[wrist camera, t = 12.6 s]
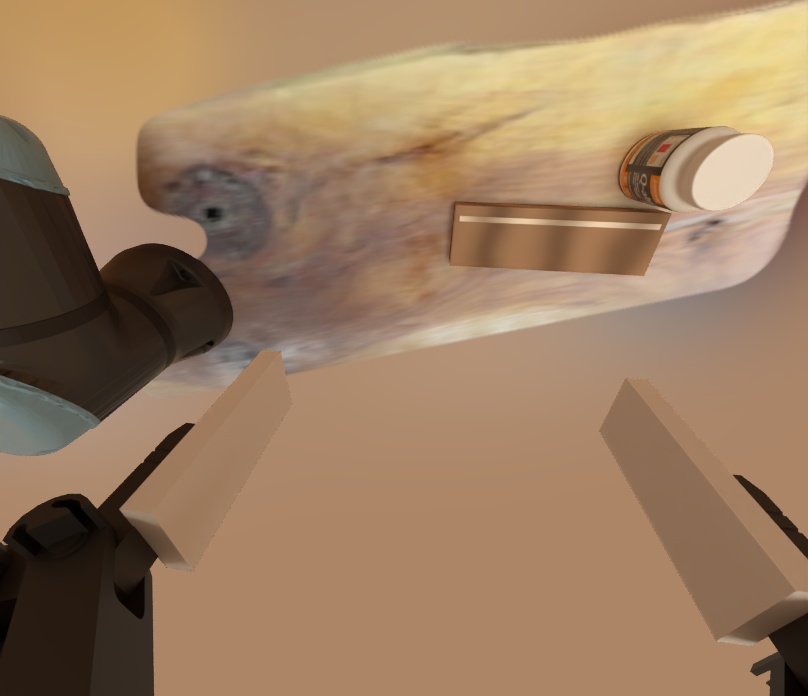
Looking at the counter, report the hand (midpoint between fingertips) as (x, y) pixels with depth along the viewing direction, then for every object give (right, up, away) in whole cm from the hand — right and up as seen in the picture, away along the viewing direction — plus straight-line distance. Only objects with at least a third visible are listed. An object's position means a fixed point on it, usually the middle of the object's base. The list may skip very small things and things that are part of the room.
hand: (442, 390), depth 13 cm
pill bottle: (+22, +19, +17) cm, 34 cm away
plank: (+14, +14, +21) cm, 29 cm away
